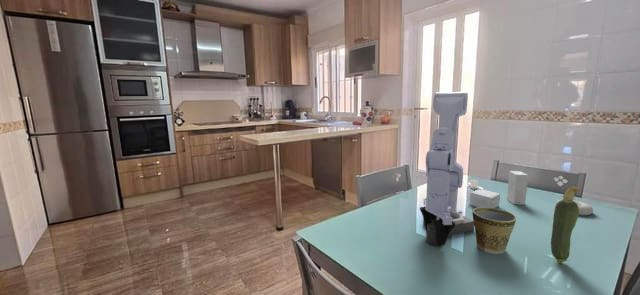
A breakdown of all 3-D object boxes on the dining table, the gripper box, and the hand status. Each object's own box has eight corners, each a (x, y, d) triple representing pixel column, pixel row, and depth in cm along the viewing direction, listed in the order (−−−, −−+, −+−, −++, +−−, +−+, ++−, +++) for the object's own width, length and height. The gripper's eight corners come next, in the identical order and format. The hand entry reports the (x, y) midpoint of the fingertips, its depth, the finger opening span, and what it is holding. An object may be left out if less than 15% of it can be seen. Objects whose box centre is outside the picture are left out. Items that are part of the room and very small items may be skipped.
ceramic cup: (513, 262, 69) (517, 224, 67) (468, 251, 74) (471, 216, 72) (510, 240, 79) (514, 207, 78) (471, 232, 85) (474, 201, 83)
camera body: (423, 224, 90) (423, 212, 90) (451, 218, 94) (451, 207, 94) (444, 236, 82) (444, 223, 81) (473, 229, 86) (474, 217, 85)
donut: (564, 205, 106) (549, 208, 102) (566, 196, 105) (550, 200, 102) (598, 214, 97) (583, 219, 93) (600, 205, 96) (584, 209, 93)
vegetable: (543, 256, 71) (553, 182, 68) (559, 255, 71) (569, 181, 68) (559, 266, 66) (570, 187, 63) (576, 265, 67) (588, 187, 64)
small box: (490, 211, 101) (491, 197, 100) (468, 204, 107) (469, 192, 106) (499, 206, 105) (500, 193, 105) (478, 200, 112) (479, 188, 111)
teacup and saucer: (467, 185, 133) (468, 176, 133) (486, 188, 128) (486, 180, 127) (461, 189, 127) (461, 180, 127) (480, 192, 122) (480, 184, 121)
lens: (423, 240, 80) (423, 224, 79) (434, 237, 82) (435, 221, 81) (434, 247, 76) (435, 230, 75) (446, 244, 77) (447, 228, 77)
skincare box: (525, 205, 106) (529, 175, 104) (513, 204, 106) (516, 174, 105) (517, 199, 112) (520, 171, 110) (506, 199, 112) (509, 170, 110)
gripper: (465, 201, 69) (461, 251, 71) (440, 184, 83) (438, 226, 86) (437, 201, 69) (434, 251, 71) (417, 184, 84) (415, 226, 86)
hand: (434, 237), depth 79 cm, fingers open, 7 cm apart
